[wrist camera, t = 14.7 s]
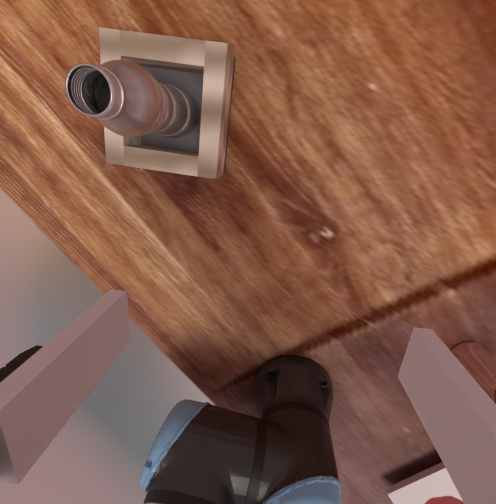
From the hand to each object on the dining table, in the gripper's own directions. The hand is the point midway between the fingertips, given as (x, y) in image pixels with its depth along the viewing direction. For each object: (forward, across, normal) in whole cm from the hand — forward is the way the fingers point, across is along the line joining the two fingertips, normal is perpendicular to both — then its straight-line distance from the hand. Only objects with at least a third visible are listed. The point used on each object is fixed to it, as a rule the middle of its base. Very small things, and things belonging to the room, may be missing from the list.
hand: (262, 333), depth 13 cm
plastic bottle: (+32, +15, -12) cm, 37 cm away
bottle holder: (+33, +15, -12) cm, 38 cm away
